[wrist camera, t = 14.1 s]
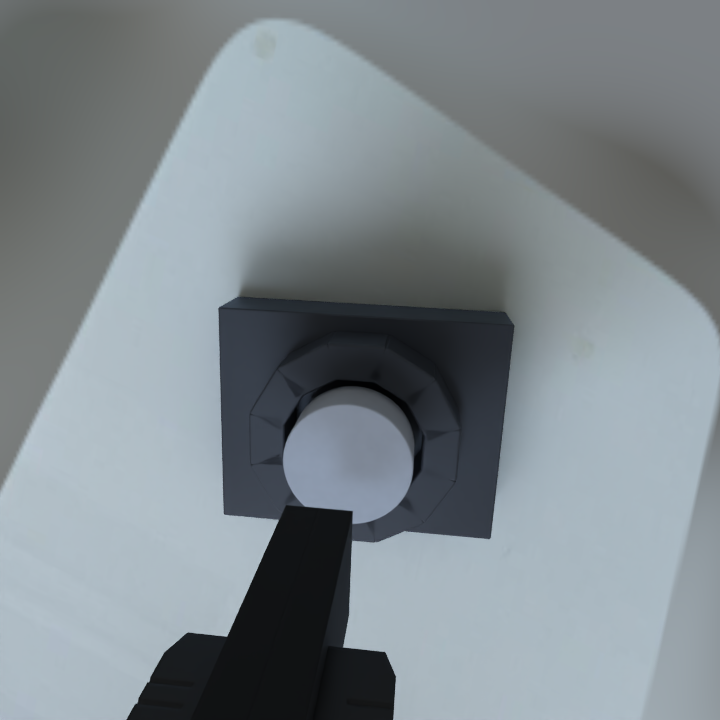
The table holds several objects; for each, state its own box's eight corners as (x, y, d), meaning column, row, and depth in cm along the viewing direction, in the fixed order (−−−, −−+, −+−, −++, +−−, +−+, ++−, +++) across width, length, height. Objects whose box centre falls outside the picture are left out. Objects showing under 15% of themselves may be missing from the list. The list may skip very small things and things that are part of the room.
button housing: (506, 312, 22) (522, 337, 18) (485, 509, 24) (496, 569, 20) (237, 296, 23) (199, 318, 19) (240, 487, 25) (206, 541, 21)
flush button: (418, 390, 19) (417, 409, 18) (410, 502, 20) (409, 530, 19) (295, 381, 20) (283, 399, 18) (293, 491, 21) (282, 518, 19)
